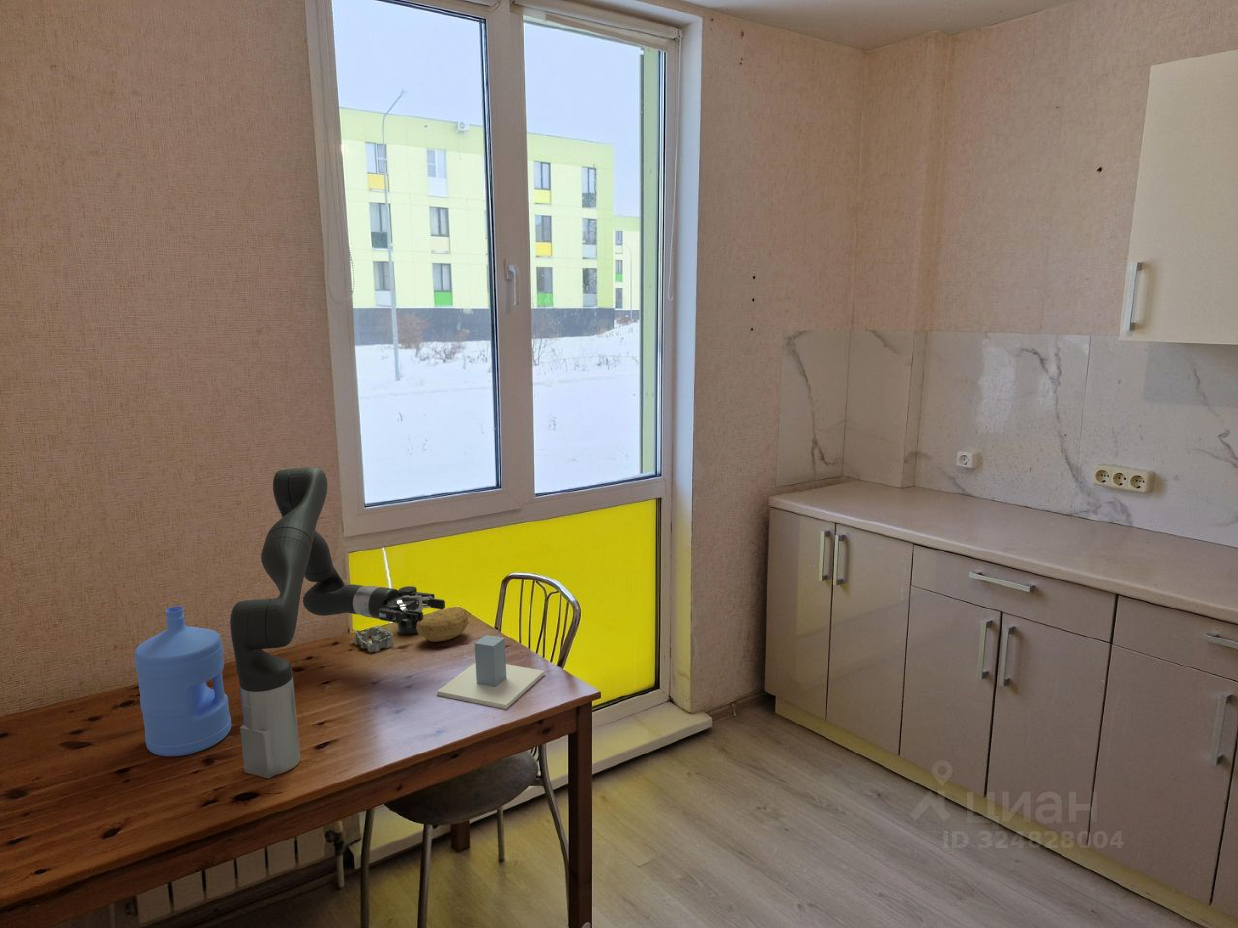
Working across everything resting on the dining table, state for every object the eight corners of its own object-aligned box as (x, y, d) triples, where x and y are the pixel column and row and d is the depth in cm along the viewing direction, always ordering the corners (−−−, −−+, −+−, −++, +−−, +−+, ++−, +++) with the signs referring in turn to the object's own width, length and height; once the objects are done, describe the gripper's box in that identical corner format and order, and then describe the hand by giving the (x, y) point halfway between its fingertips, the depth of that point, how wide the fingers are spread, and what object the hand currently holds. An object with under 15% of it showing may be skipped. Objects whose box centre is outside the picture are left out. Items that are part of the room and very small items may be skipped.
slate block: (495, 687, 184) (493, 646, 182) (476, 683, 186) (474, 643, 184) (506, 677, 188) (504, 637, 186) (487, 674, 190) (486, 634, 188)
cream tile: (506, 709, 176) (506, 704, 175) (437, 695, 182) (437, 691, 182) (544, 674, 192) (544, 670, 192) (479, 663, 199) (479, 659, 198)
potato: (410, 640, 213) (409, 611, 212) (459, 627, 221) (458, 600, 220) (425, 652, 205) (423, 623, 204) (475, 639, 213) (473, 610, 212)
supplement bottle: (426, 626, 223) (424, 584, 220) (418, 635, 216) (415, 593, 214) (402, 625, 223) (400, 584, 221) (393, 635, 217) (390, 592, 214)
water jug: (136, 764, 156) (117, 628, 151) (158, 724, 171) (142, 600, 166) (223, 751, 160) (208, 619, 155) (238, 714, 175) (224, 592, 170)
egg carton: (351, 643, 212) (350, 628, 212) (377, 635, 217) (376, 621, 217) (369, 655, 205) (368, 640, 204) (396, 646, 210) (395, 631, 209)
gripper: (356, 596, 186) (413, 604, 180) (395, 578, 199) (450, 586, 193) (358, 627, 188) (415, 636, 181) (397, 607, 200) (451, 615, 194)
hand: (433, 610), depth 187 cm, fingers open, 8 cm apart
